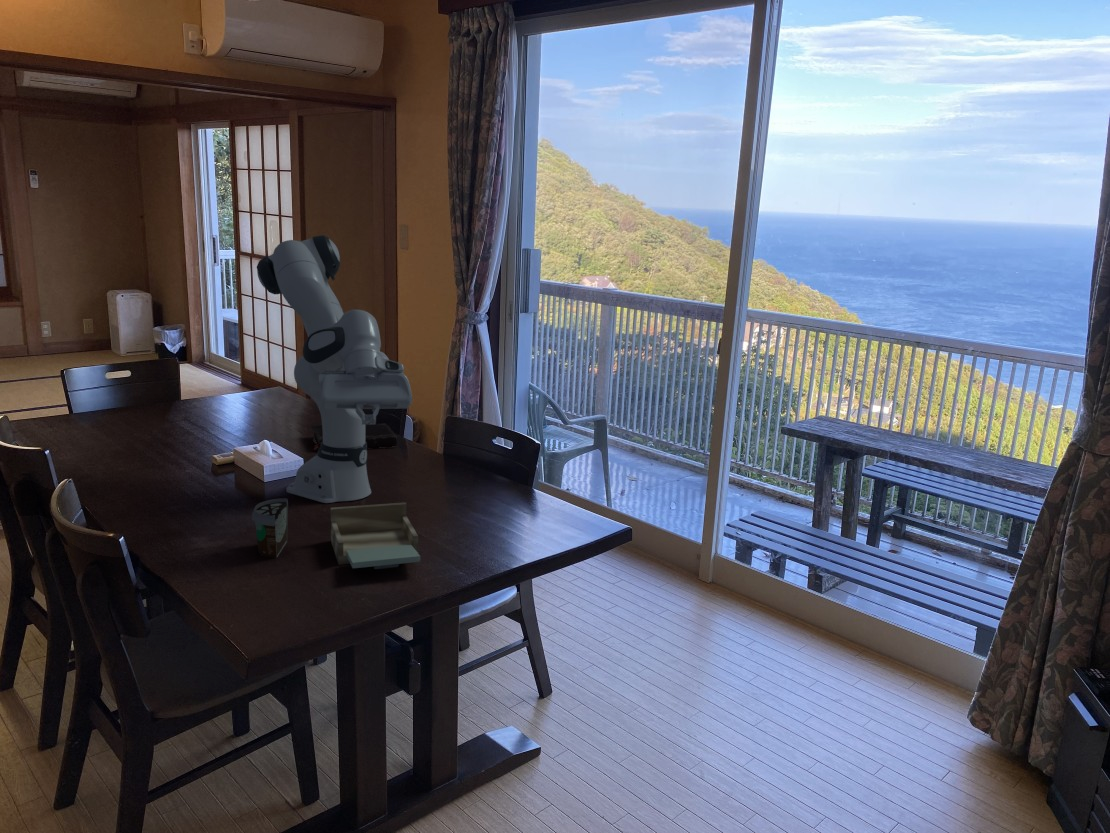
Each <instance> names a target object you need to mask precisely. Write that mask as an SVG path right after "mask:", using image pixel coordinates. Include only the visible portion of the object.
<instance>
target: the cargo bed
mask: <svg viewBox="0 0 1110 833" xmlns="http://www.w3.org/2000/svg"><path fill="white" fill-rule="evenodd" d="M407 506H408V505H407V502H404V501H403V502H394V503H380V504H378V503H377V504H366V505H365V504H364V505H353V506H339V507H338V506H337V507H330V542H331V546H332V548H333V551H334V555H335V558H336V561H337V564H338V565H339V566H340V565H348V564H349V565H351V564H350V562H349V560H348V558H347V556H346V550H356V549H366V548H377V547H388V546H399V545H410V544H411V545H412V546H413V547H414V549H415V550H416V551H417V552H418V553H419V535H418V533H417V532H416V530H415V528H414V527H413V524H412V523H411V521H410V520H409V518H408V516H407V509H408V508H407Z"/></svg>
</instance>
